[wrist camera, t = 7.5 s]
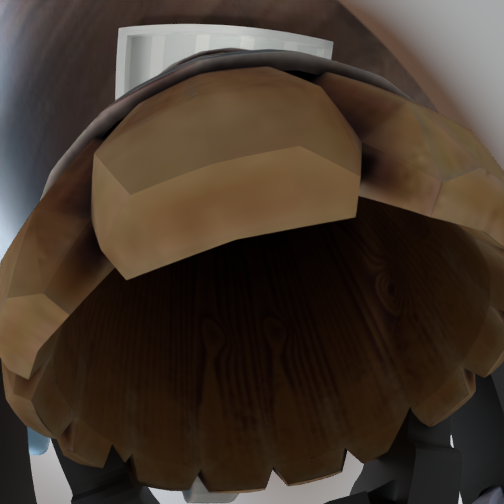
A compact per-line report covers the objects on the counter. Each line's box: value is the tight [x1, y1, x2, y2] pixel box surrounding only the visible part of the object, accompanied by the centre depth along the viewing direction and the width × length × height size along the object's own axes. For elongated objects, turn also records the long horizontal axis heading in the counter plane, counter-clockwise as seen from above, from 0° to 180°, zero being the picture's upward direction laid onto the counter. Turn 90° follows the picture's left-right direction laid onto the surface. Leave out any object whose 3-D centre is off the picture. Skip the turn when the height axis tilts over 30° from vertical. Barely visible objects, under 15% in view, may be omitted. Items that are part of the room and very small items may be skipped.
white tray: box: [115, 24, 334, 100], centre depth 27 cm, size 19×22×3 cm
